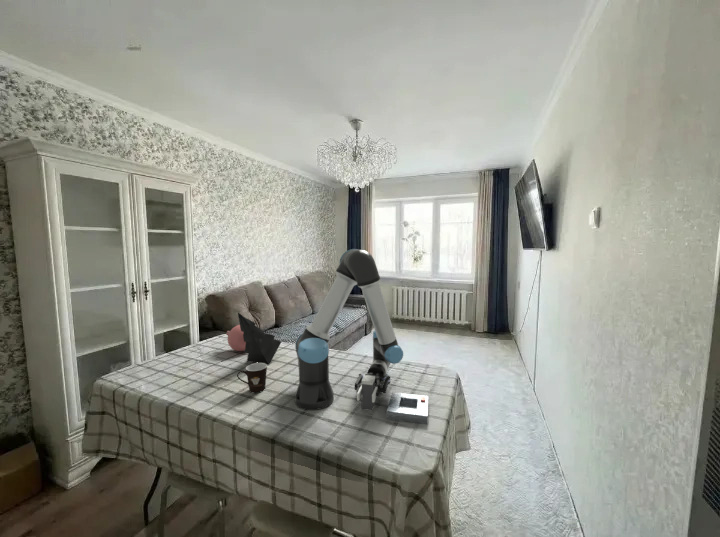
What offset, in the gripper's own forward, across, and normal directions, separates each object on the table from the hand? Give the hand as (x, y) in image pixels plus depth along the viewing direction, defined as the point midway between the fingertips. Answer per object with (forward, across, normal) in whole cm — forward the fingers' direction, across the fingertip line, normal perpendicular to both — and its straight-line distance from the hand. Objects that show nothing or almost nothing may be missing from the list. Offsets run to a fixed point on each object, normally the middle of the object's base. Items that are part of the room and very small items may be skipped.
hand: (365, 397), depth 111 cm
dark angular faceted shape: (-34, +66, -6) cm, 75 cm away
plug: (-5, 0, -6) cm, 8 cm away
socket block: (-5, -15, -6) cm, 17 cm away
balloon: (-50, +88, -6) cm, 102 cm away
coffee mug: (-8, +51, -6) cm, 52 cm away
